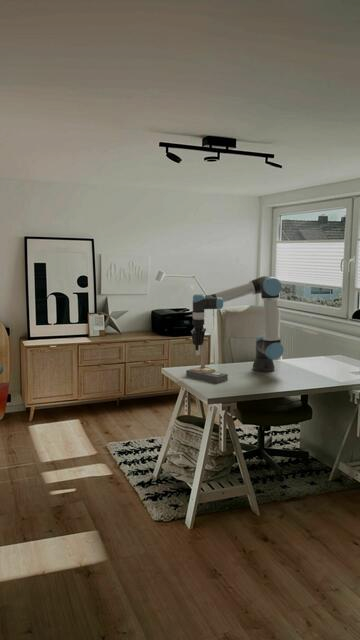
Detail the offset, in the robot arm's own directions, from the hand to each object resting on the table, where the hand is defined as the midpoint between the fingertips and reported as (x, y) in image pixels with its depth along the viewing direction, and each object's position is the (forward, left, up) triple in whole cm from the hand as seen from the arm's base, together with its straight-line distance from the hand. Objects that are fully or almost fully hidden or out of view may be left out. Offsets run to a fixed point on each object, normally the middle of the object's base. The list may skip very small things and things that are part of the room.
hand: (198, 355), depth 339 cm
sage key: (0, +16, -12) cm, 20 cm away
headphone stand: (-16, -6, -14) cm, 22 cm away
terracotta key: (0, 0, -12) cm, 12 cm away
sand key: (0, +8, -11) cm, 13 cm away
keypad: (0, +8, -14) cm, 16 cm away
